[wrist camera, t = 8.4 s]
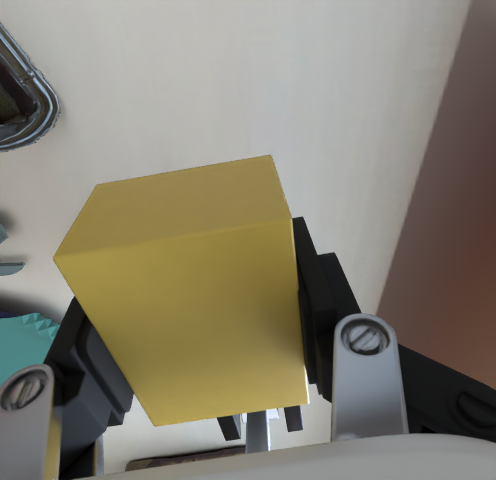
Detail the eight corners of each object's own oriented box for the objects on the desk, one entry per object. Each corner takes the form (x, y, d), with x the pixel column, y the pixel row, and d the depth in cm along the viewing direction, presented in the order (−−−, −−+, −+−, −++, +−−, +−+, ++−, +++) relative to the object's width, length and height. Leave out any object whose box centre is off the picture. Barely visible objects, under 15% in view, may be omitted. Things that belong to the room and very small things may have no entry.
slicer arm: (87, 687, 8) (107, 772, 9) (427, 645, 8) (438, 734, 8) (195, 371, 24) (202, 404, 24) (313, 354, 24) (318, 387, 24)
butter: (271, 153, 10) (292, 217, 7) (291, 321, 14) (309, 404, 11) (96, 183, 10) (50, 258, 7) (166, 341, 14) (153, 428, 11)
